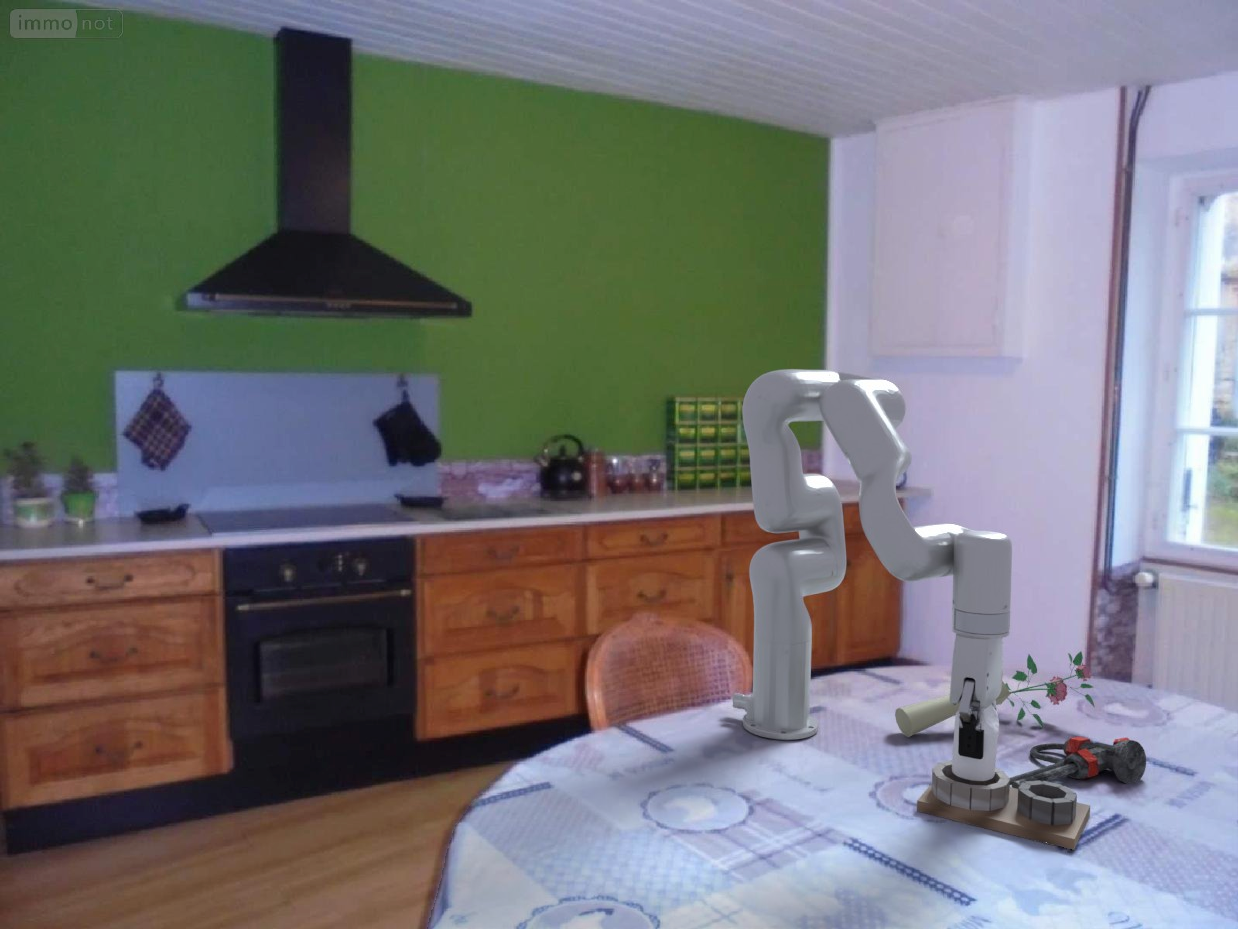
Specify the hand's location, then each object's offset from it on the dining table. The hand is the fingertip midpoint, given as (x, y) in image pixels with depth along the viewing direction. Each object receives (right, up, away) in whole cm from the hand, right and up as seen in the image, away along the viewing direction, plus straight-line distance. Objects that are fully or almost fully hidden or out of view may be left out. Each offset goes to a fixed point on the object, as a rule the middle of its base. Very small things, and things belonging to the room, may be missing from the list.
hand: (977, 748), depth 141 cm
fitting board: (+3, -8, -2) cm, 9 cm away
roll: (0, -4, +1) cm, 4 cm away
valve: (+17, -8, +13) cm, 23 cm away
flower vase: (+14, -5, +32) cm, 35 cm away
